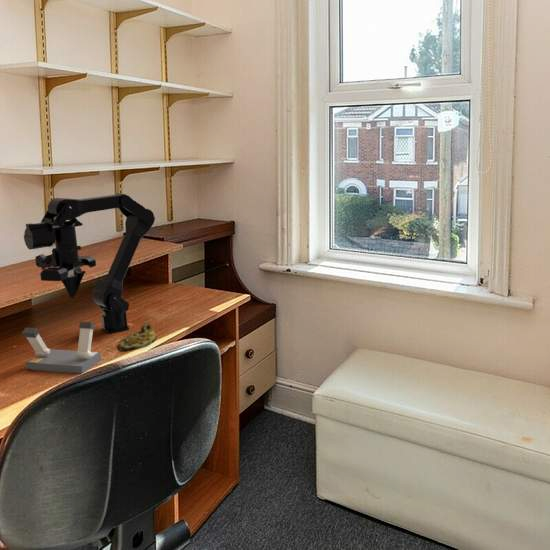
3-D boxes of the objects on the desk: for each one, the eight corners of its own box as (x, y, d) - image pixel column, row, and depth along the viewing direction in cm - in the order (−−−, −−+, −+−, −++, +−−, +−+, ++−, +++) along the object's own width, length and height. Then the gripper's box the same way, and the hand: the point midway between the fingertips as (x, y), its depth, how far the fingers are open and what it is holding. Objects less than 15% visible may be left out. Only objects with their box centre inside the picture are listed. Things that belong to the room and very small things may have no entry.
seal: (140, 357, 152) (164, 337, 166) (140, 341, 151) (165, 322, 165) (109, 351, 154) (136, 332, 168) (109, 335, 153) (136, 317, 167)
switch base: (47, 355, 151) (46, 348, 151) (101, 359, 148) (100, 352, 147) (26, 369, 143) (25, 361, 142) (82, 373, 139) (81, 365, 139)
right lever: (79, 357, 144) (83, 322, 146) (90, 358, 144) (94, 323, 145) (75, 357, 143) (79, 321, 144) (86, 358, 142) (91, 322, 143)
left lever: (40, 350, 147) (25, 327, 141) (50, 351, 147) (36, 328, 141) (36, 356, 146) (21, 332, 140) (47, 356, 145) (33, 333, 139)
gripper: (60, 237, 166) (66, 287, 170) (18, 250, 148) (27, 306, 152) (94, 237, 163) (99, 288, 167) (56, 250, 146) (63, 307, 150)
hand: (72, 297), depth 159 cm, fingers closed
